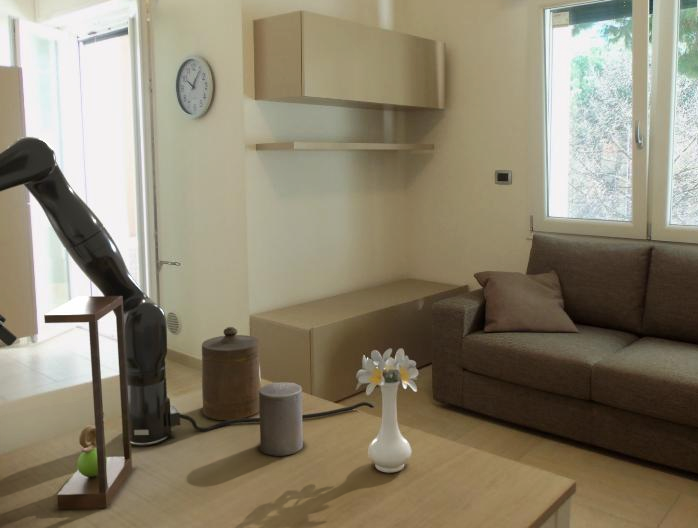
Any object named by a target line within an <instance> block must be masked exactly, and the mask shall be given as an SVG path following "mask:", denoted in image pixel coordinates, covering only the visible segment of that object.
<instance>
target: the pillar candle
mask: <svg viewBox="0 0 698 528" xmlns="http://www.w3.org/2000/svg"><path fill="white" fill-rule="evenodd" d="M259 410H260V411H259V412H258V413H259V418H260V422H259V434H260V435H259V438H260V441H259V442H260V447H259V449H260V451H261V452H262V453H263V454H266V455H268V456H275V457H283V456H288V455H293V454H296V453H298V452H299V451H301V450H302V449H303V446H304V445H303V444H304V442H303V419H302V415H303V387H302V386H301V385H299V384H296V383H295V382H285V381H284V382H283V381H282V382H272V383H268V384H266V385H262V386H261V388H260V390H259Z"/></svg>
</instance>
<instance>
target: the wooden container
mask: <svg viewBox="0 0 698 528" xmlns="http://www.w3.org/2000/svg"><path fill="white" fill-rule="evenodd" d="M260 346H261V345H260V339H258V338H257V337H255V336H252V335H247V334H246V335H245V334H238V330H237V328H235V327H233V326H228V327H226V328H225V329H223V335H220V336H219V335H218V336H215V337H211V338H208V339H206V340H204V341H203V342H202V343H201V393H202V395H201V396H202V412H203V415H205V417H207V418H209V419H212V420H218V421H227V420H233V419H245V418H251V417H253V416H254V415H257V414H258V413H259V411H260V410H259V390H260V388H261V387H262V381H261V380H262V379H261V363H260V360H261V359H260V353H261V352H260V348H261V347H260Z"/></svg>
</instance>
